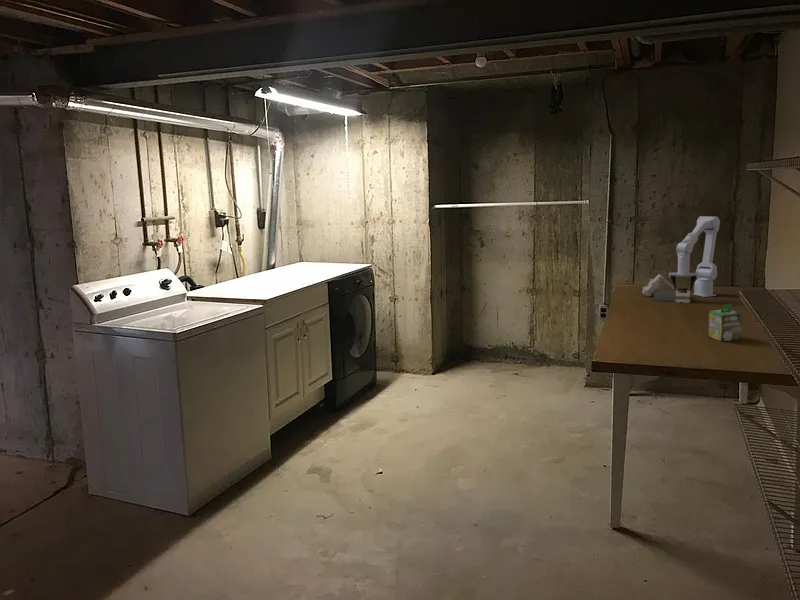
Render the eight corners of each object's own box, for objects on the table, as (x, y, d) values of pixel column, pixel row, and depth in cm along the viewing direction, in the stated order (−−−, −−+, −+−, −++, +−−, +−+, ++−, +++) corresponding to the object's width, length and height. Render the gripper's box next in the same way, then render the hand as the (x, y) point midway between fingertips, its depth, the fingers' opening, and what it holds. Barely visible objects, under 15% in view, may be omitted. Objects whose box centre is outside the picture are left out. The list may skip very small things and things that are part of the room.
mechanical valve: (640, 289, 371) (659, 270, 365) (664, 308, 370) (684, 289, 364) (641, 293, 361) (660, 274, 356) (666, 313, 360) (686, 294, 354)
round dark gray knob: (678, 301, 346) (678, 286, 345) (683, 300, 347) (684, 286, 346) (682, 302, 343) (683, 288, 341) (688, 301, 344) (689, 287, 342)
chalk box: (726, 335, 273) (728, 301, 271) (741, 340, 264) (743, 305, 262) (707, 336, 272) (708, 302, 269) (721, 342, 263) (722, 306, 260)
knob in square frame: (654, 295, 364) (655, 286, 363) (689, 296, 357) (689, 287, 356) (653, 301, 348) (653, 292, 347) (689, 302, 341) (690, 293, 340)
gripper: (668, 265, 341) (668, 290, 344) (698, 266, 335) (697, 291, 338) (669, 264, 347) (668, 288, 350) (698, 264, 342) (697, 289, 344)
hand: (682, 290), depth 344 cm, fingers open, 7 cm apart
